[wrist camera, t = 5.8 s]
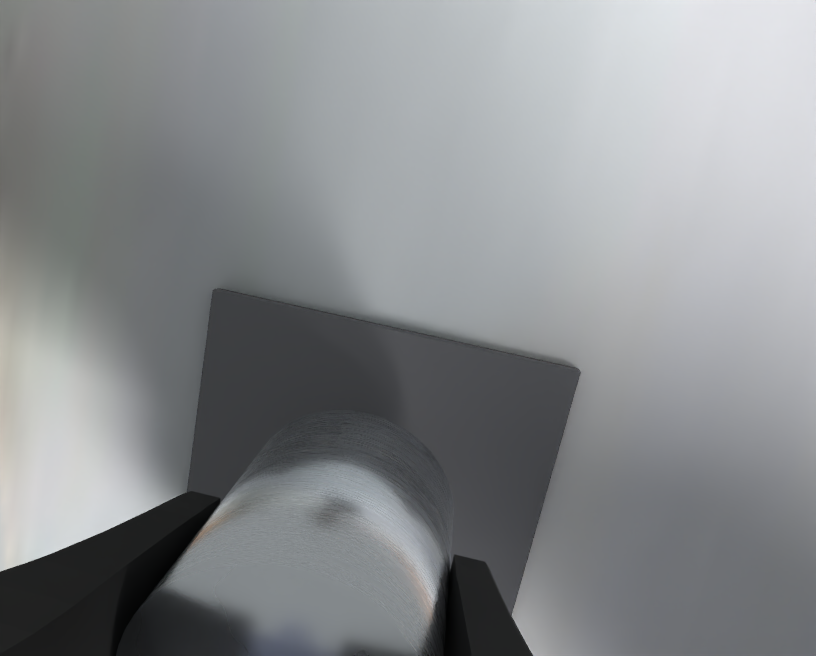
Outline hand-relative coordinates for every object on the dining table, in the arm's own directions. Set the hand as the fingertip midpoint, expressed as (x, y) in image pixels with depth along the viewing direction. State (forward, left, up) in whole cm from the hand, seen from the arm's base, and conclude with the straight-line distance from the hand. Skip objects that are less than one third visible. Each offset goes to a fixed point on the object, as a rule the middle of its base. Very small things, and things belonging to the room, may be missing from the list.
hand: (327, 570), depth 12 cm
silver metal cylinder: (0, +1, -2) cm, 2 cm away
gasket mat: (0, 0, -4) cm, 4 cm away
